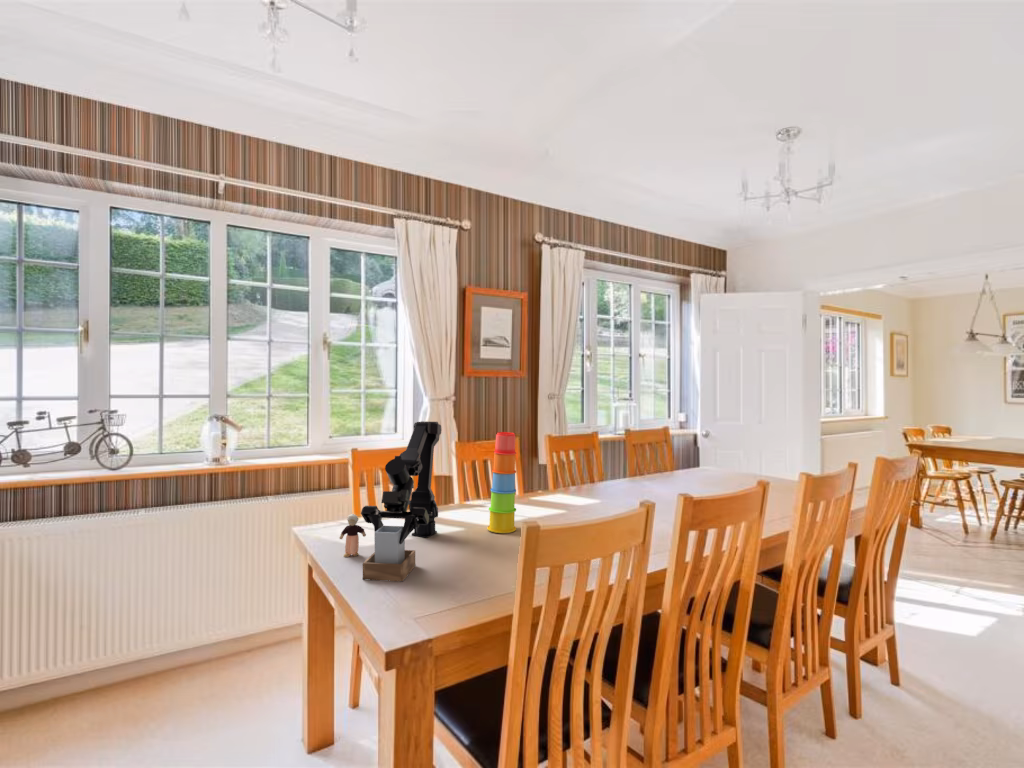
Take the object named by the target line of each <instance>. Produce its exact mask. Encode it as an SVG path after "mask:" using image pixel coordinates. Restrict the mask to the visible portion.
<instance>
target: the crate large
mask: <svg viewBox="0 0 1024 768" xmlns="http://www.w3.org/2000/svg"><path fill="white" fill-rule="evenodd" d="M415 567H416V549H415V550H414V549H405V560H404V562H403V563H402V564H389V563H375V551H374V552H373V553H371V555H370V556H369V557H368V558H366V559H365V560H364V561H363V562H362V580H363V579H370V580H369V581H380V580H388V581H387V582H400V581H403V580H404V579H406V578H407V577H408V576H409V575H410V574H411V572H412V571H413V570H412V569H414V568H415ZM408 574H409V575H408ZM407 575H408V576H407ZM389 580H390V581H389ZM404 581H405V580H404ZM404 581H403V582H404Z"/></svg>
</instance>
